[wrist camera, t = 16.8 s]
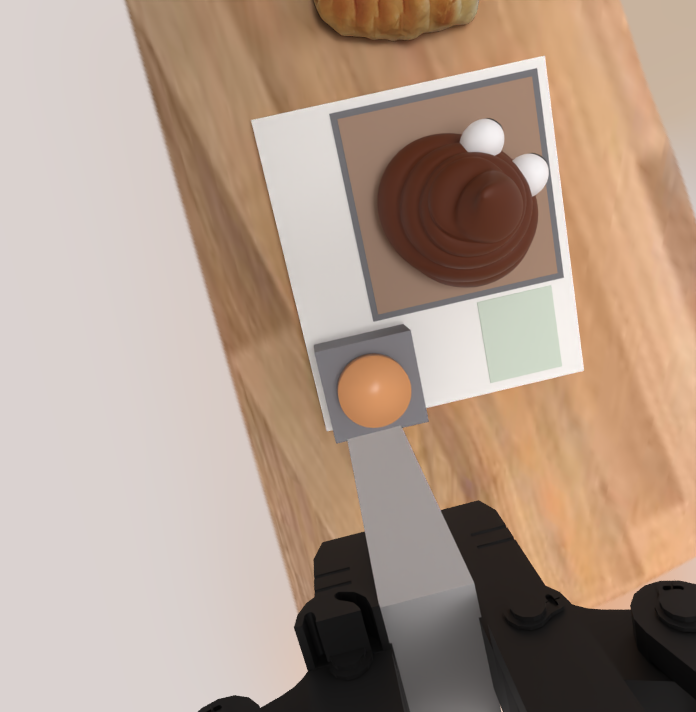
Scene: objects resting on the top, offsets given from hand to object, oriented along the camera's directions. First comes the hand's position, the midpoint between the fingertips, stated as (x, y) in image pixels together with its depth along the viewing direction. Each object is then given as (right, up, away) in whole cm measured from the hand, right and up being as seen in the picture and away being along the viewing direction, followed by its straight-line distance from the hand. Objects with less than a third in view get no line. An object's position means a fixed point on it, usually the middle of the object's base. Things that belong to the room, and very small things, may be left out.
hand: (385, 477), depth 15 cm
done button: (0, +2, +21) cm, 21 cm away
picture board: (+4, +10, +21) cm, 23 cm away
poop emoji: (+6, +12, +19) cm, 24 cm away
